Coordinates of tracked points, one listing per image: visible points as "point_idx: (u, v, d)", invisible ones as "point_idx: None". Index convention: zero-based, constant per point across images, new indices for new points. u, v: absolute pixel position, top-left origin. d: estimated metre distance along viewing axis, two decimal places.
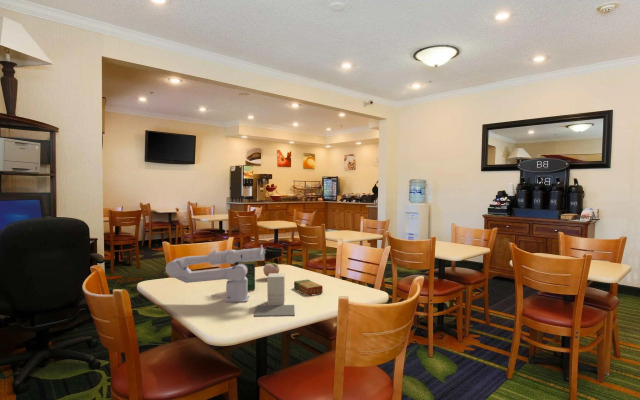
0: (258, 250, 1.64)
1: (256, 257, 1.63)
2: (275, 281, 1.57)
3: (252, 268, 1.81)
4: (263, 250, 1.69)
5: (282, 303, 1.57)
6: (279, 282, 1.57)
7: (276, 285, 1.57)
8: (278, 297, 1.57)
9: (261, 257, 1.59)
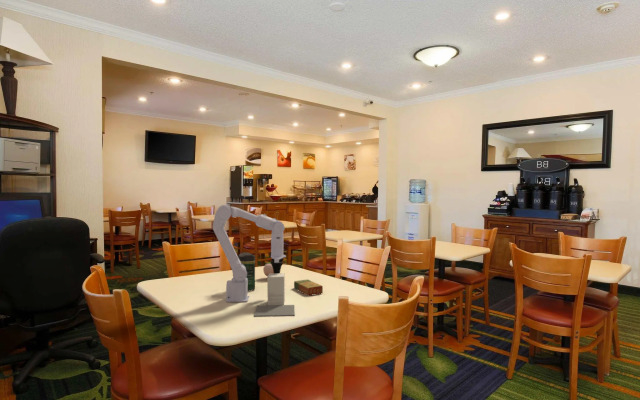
0: (281, 254, 1.68)
1: (275, 252, 1.67)
2: (275, 281, 1.57)
3: (252, 268, 1.81)
4: None
5: (282, 303, 1.57)
6: (279, 282, 1.57)
7: (276, 285, 1.57)
8: (278, 297, 1.57)
9: (275, 259, 1.62)
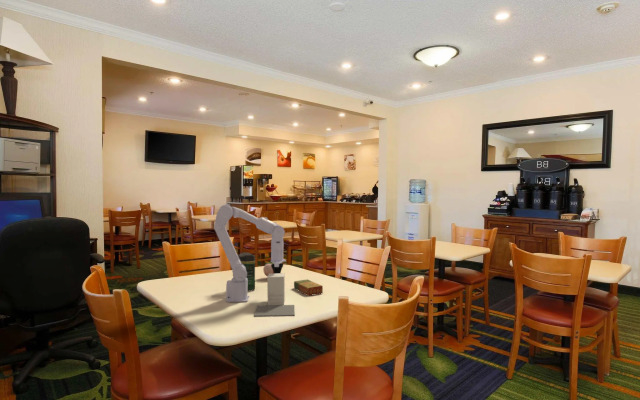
0: (281, 258, 1.68)
1: (275, 256, 1.67)
2: (275, 281, 1.57)
3: (252, 268, 1.81)
4: None
5: (282, 303, 1.57)
6: (279, 282, 1.57)
7: (276, 285, 1.57)
8: (278, 297, 1.57)
9: (275, 264, 1.62)
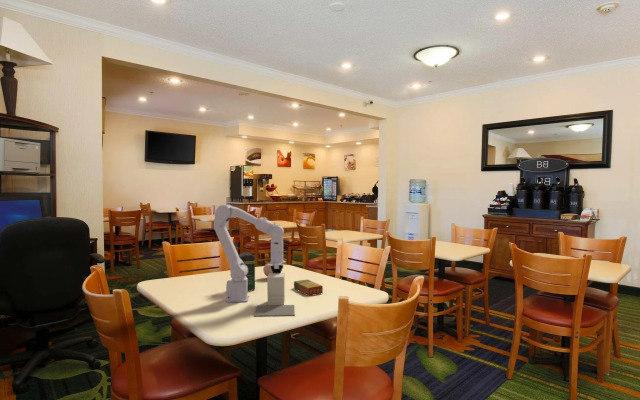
0: (281, 259, 1.64)
1: (274, 257, 1.63)
2: (275, 281, 1.57)
3: (252, 268, 1.81)
4: None
5: (282, 303, 1.57)
6: (279, 282, 1.57)
7: (276, 285, 1.57)
8: (278, 297, 1.57)
9: (275, 265, 1.58)
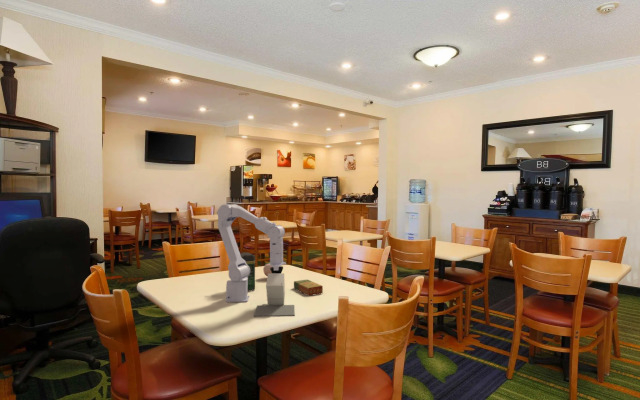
0: (281, 261, 1.58)
1: (274, 259, 1.57)
2: (274, 289, 1.51)
3: (252, 268, 1.81)
4: None
5: (282, 304, 1.57)
6: (278, 290, 1.52)
7: (275, 292, 1.52)
8: (277, 300, 1.55)
9: (275, 267, 1.53)
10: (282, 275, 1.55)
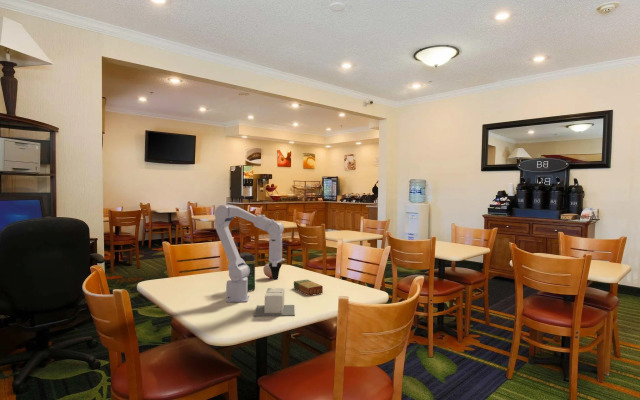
0: (279, 257, 1.59)
1: (273, 255, 1.58)
2: None
3: (252, 268, 1.81)
4: None
5: None
6: None
7: None
8: None
9: (273, 263, 1.54)
10: (280, 299, 1.45)
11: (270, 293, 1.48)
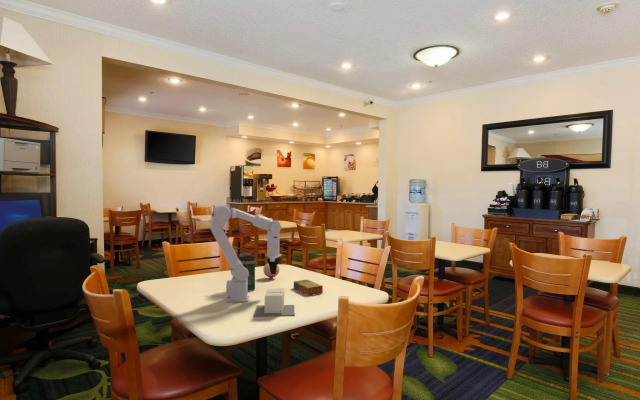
0: (277, 253, 1.71)
1: (271, 251, 1.70)
2: None
3: (252, 268, 1.81)
4: None
5: None
6: None
7: None
8: None
9: (271, 258, 1.65)
10: (280, 299, 1.45)
11: (270, 293, 1.48)
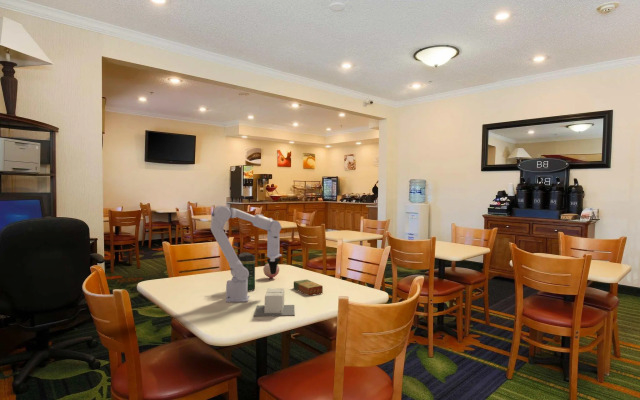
0: (277, 253, 1.71)
1: (271, 251, 1.70)
2: None
3: (252, 268, 1.81)
4: None
5: None
6: None
7: None
8: None
9: (271, 258, 1.65)
10: (280, 299, 1.45)
11: (270, 293, 1.48)
